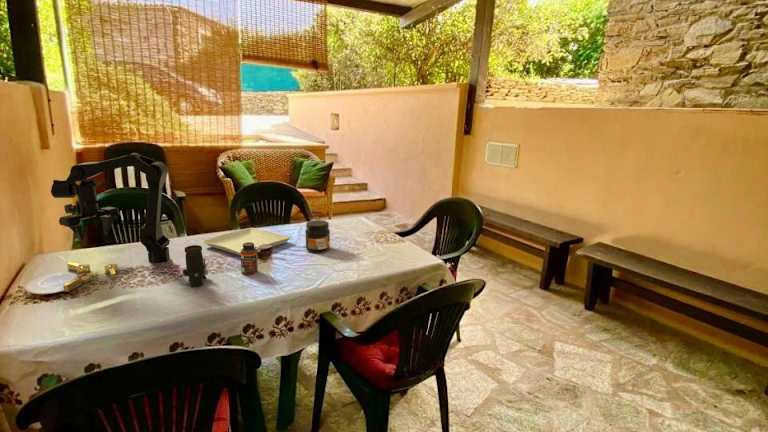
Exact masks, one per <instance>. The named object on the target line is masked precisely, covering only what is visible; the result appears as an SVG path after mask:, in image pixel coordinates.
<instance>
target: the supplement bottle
mask: <svg viewBox="0 0 768 432" xmlns="http://www.w3.org/2000/svg"><path fill="white" fill-rule="evenodd" d="M240 253H241V255H240V269H241V270H240V271H241V273H242V274H243V275H245V276H250V275H255V274H257V273H258V272H259V267H258V266H259V263H258V253H257V250H256V249H255V248H254V243H252V242H247V243H244V244H243V249H242V250H241V252H240Z"/></svg>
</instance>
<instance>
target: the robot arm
mask: <svg viewBox="0 0 768 432" xmlns="http://www.w3.org/2000/svg"><path fill="white" fill-rule="evenodd" d="M129 166H132V167H134V168H135V169H137V171H139V172H141V173H142V174H144V175H145V180H146V181H145V182H146V183H147V186H148V193H147V206H146V209H147V210H146V223H144V225H142V226H141V227H139V237H138V239H140V244H142V245H143V246H144V247H145V249H146V251H147V252H148V253H147V259H148V262H149V263H153V264H163V263H168V261H170V260H171V261H173V260H172V258H170V257H171V256H170V247H169V245H170V242H171V240H170V238H168V237H166V236H165V235H164V233H163V227H162V225H161V210H162V209H161V208H162V198H163V196H162V195H163V187H164V184H165V182H166V180H167V176H168V172H169V167H168V166H167V165H166V164H165V163H164V162H162V161H156V160H154V159H152V158H149V157H147V156H144V155H142V154H140V153H137V152H133V153H130V154H127V155H123V156H119V157H115V158H111V159H107V160H102V161H90V162H89V161H88V162H82V163H79V164H75V165H72V166H71V167H70V171H69V172H70V173H69V175H68V176H67V178H65V179H61V178H56V179H53V180H52V185H51V189H50V194H51V196H52V197H53V198H54V199H73V198H75V197H76V196H77V200H75V205H73V204H72V203H69V204H65V205H63V207H64V212H65V214H68V215H64V216H63V215H62V216H60V217H59V219H58V223H59V225H60V226H63V227H67V228H70V229H71V231H72V232H73V233H74V235H75V236H76V237H77V240H78V241H79V242H81V243H83V241H84V237H83V225H82V224H80V223H81V221H86V220H87V221H88V220H90V219H95V218H100V220H101V222H102V228H103V229H102V230H103V233H104V235H105V236H108V234H109V232H110V229H111V226H112V224H113V223H114V220H115V219H117V216H120V211H119V208H117V207H113V206H105V207H101V208H100V209H99V204H100V199H98V196H97V192H96V191H97V190H96V187H98V186H100V185H102V183H101V181H99V180H97V179H96V178H95V177H96V176H99V175H100V174H103V173H104V172H108V171H113V170H116V169H117V170H118V169H120V168H125V167H129ZM93 177H94V178H93ZM91 178H93V179H91ZM88 179H91V180H88Z"/></svg>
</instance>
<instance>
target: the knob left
mask: <svg viewBox="0 0 768 432" xmlns="http://www.w3.org/2000/svg"><path fill="white" fill-rule="evenodd" d="M92 281H93V280H92V277H91V274H90V273H82V274H79V275H78V274H77V275H76V278H74V279H72V280H70V281H67V282H66V283H64V284H63V285H62V286H63V291H64V292H67V293H68V292H71V291H73V290H74V289H75V288H78V287H79V286H81V285H87V284H89V283H91V282H92Z"/></svg>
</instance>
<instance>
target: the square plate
mask: <svg viewBox="0 0 768 432" xmlns="http://www.w3.org/2000/svg"><path fill="white" fill-rule="evenodd" d="M291 238H292V237H291V236H289V235H284V234H281V233H278V232H273V231H269V230H265V229H261V228H255V227H248V228H247V227H246V228H244V229H239V230H235V231H232V232H228V233H224V234H220V235H218V236H217V235H216V236H215V237H212V238H209V239H205V240H202V243H204V244H205V245H206V246H209V247H212V248H215V249H219V250H222V251H225V252H229V253H232V254H235V255H237V256H241V253H240V252H241V250H242V249H243V244H244V243H247V242H252V243H254V246H259V245H262V244H266V245H263V246H261V247H264V246H267V245H271V246H272V248H274V247H275V248H276V247H277V246H279V245H281V244H284V243H287V242H288V241H289V240H290V239H291ZM261 247H258V248H256V250H257V251H258V250H259V249H260V248H261Z"/></svg>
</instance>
